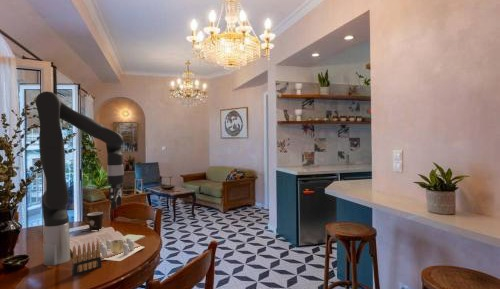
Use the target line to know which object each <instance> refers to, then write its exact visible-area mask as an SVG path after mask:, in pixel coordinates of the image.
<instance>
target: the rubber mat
mask: <svg viewBox="0 0 500 289" xmlns="http://www.w3.org/2000/svg"><path fill="white" fill-rule="evenodd" d="M121 238H123V239H124V240H125V241H126V239H127V238H131V240H134V243H135V242H137V241H138V240H141V239H144V238H146V235H141V234H137V235H136V234H126V235H124V236H122V237H121Z"/></svg>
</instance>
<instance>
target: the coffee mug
mask: <svg viewBox="0 0 500 289" xmlns="http://www.w3.org/2000/svg"><path fill="white" fill-rule="evenodd" d="M85 217H86V218H87V221H88V222H87V221H85ZM103 217H104V212H103V211H95V212H91V213H90V212H89V213H87V214H86V215H84V216H83V218H82V220H83V222H84V224H87V225H88V227H89V228H88V229H89V231H90V230H99V229H101V228H102V229H103V220H104V218H103Z"/></svg>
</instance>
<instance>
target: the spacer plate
mask: <svg viewBox="0 0 500 289" xmlns="http://www.w3.org/2000/svg"><path fill="white" fill-rule="evenodd" d="M110 242H112V239H106V240H105V243H103V242H102V243H99V246H100V253H102V256H103V257H105V256H107V249H111V245H110ZM134 246H135V242H134V240H131V238H127V239H126V242H125V244H124V245H123V253H121V254H118V255H115V256H112V257H109V258H104V259H103V261H104V260H106V261H115V262H116V261H117V262H121V261H123V260H125V259H126V258H129V257H130V256H132V255H134V254H135V253H137V252H138V251H141V250H142V249H144V248H145V246H142V245H141V246H140V247H138V248H135V249H134ZM128 247H129V251H128Z"/></svg>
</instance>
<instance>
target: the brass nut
mask: <svg viewBox="0 0 500 289" xmlns="http://www.w3.org/2000/svg"><path fill="white" fill-rule="evenodd" d="M124 243H125V242H123V240H117V239H114V240H111V242H110V245H111V252H112V253H120V252H122V251H123V245H124Z"/></svg>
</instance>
